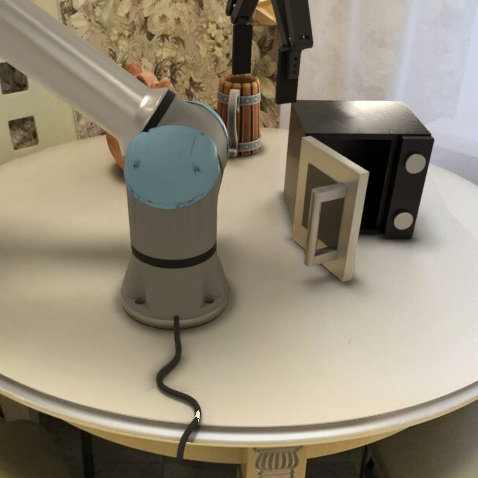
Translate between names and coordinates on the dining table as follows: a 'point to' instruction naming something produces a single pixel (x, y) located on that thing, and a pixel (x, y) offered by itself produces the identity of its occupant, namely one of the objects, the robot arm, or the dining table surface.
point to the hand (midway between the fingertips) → (262, 87)
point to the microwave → (368, 156)
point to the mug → (240, 112)
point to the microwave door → (328, 207)
